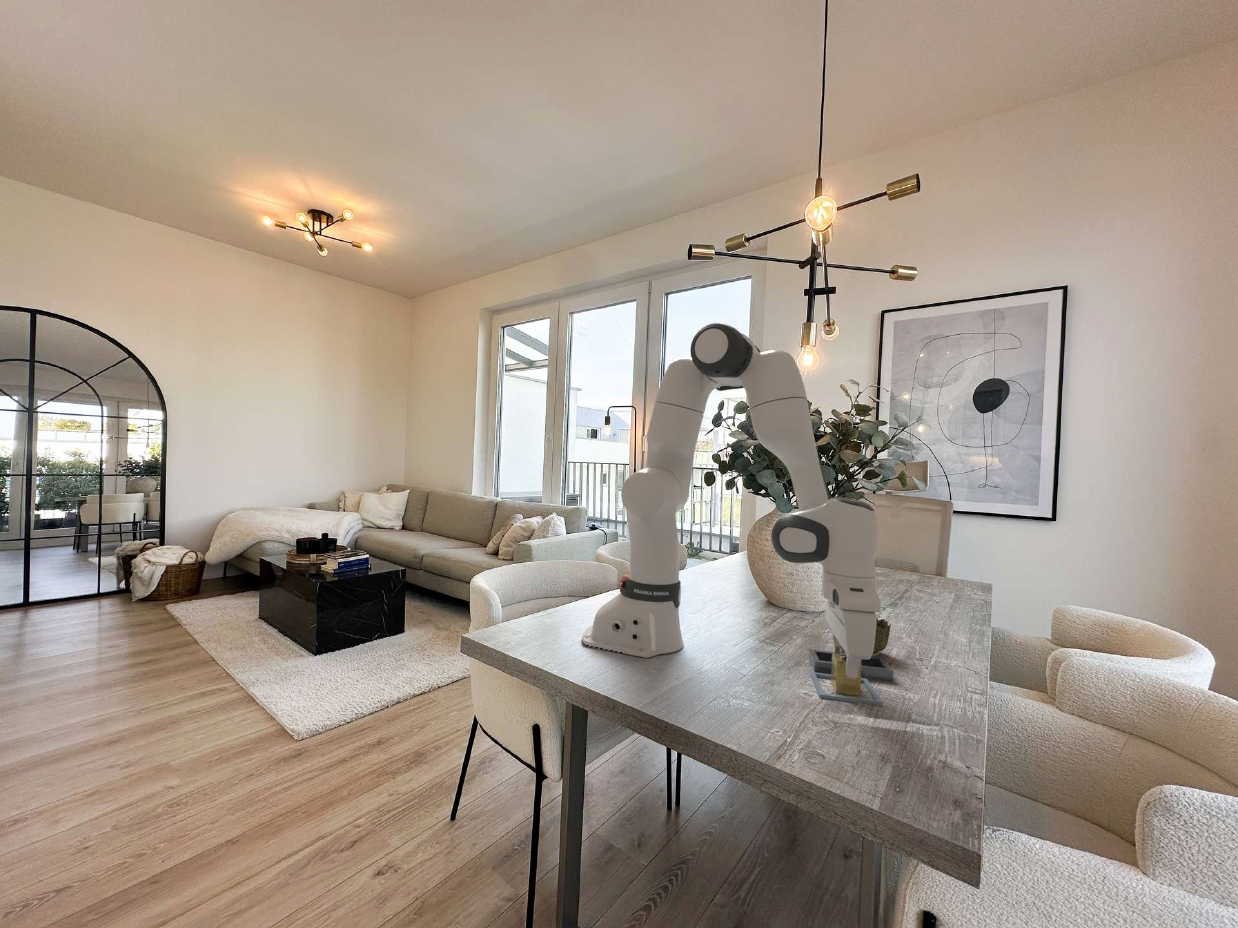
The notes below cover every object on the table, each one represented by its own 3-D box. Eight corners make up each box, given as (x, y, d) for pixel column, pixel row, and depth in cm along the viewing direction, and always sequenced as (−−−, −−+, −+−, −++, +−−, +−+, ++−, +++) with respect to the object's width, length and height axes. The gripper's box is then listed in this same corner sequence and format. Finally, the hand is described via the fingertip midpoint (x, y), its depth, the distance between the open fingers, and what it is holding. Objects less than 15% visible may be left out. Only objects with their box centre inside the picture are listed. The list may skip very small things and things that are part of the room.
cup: (894, 665, 106) (895, 627, 106) (856, 661, 108) (857, 623, 108) (883, 652, 114) (884, 617, 114) (847, 649, 115) (849, 613, 115)
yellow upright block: (835, 694, 90) (837, 659, 90) (830, 685, 94) (832, 651, 94) (859, 698, 89) (861, 661, 89) (854, 688, 93) (855, 653, 93)
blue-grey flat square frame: (819, 703, 87) (819, 694, 87) (809, 679, 97) (810, 671, 97) (882, 711, 85) (882, 702, 85) (866, 686, 95) (866, 678, 95)
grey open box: (814, 677, 98) (814, 661, 98) (808, 663, 105) (808, 649, 105) (892, 686, 96) (893, 670, 96) (881, 672, 102) (882, 657, 102)
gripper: (819, 575, 102) (816, 644, 102) (842, 601, 82) (838, 686, 82) (852, 578, 101) (849, 647, 101) (884, 605, 81) (880, 692, 81)
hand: (844, 665), depth 91 cm, fingers open, 8 cm apart
